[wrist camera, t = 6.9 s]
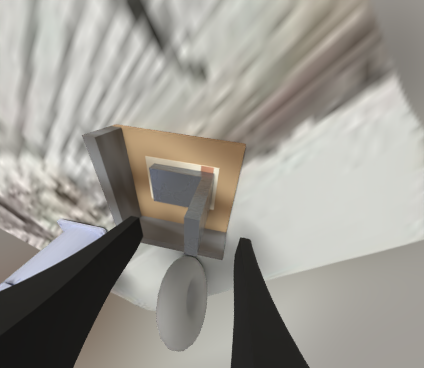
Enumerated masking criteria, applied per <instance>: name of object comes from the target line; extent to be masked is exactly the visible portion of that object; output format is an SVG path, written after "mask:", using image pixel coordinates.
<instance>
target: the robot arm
mask: <svg viewBox="0 0 424 368" xmlns="http://www.w3.org/2000/svg"><path fill="white" fill-rule="evenodd" d="M57 223H58V224H59V225H60V227H61V228H62V230H63V231H64V232H63V233H62V234H60V235H59V236H58V237H57V238H55V239H54V240H53V241H52V242H51V243H49V244H48V245H47V246H46V247H45V248H43V249H42V250H41V251H40V252H39V253H37V254H36V255H35V256H34V257H33V258H31V259H30V260H29V261H28V262H26V263H25V264H24V265H23V266H22V267H21V268H19V269H18V270H17V271H16V272H14V273H13V274H12V275H11V276H10V277H8V278H7V279H6V280H5V281H4V282H2V283H1V284H0V368H73V367H74V364H75V362H76V360H77V358H78V356H79V353H80V351H81V349H82V347H83V344H84V342H85V340H86V338H87V336H88V333H89V332H90V330H91V328H92V326H93V324H94V321H95V320H96V318H97V316H98V313H99V312H100V310H101V308H102V306H103V304H104V302H105V300H106V298H107V296H108V295H109V293H110V291H111V289H112V287H113V286H114V284H115V282H116V281H117V279H118V278H119V276H120V275H121V273H122V272H123V270H124V269H125V267H126V266H127V264H128V262H129V261H130V259H131V258H132V256H133V255H134V253H135V252H136V250H137V248H138V246H139V244H140V242H141V240H142V238H143V232H142V227H141V223H140V219H139V217H135V216H130V217H129V218H127V219H126V220H124V221H123V222H121V223H120V224H118V225H117V226H116V227H114V228H113V229H111V230H110V231H108V232H106V230H105V229H104V228H101V227H96V226H92V225H87V224H82V223H77V222H73V221H68V220H63V219H59V220H57ZM231 368H309V366H308V364H307V363H306V361H305V360H304V358H303V356H302V354H301V353H300V351H299V349H298V347H297V345H296V344H295V342H294V340H293V339H292V337H291V335H290V333H289V332H288V330H287V328H286V326H285V324H284V322H283V320H282V318H281V316H280V314H279V312H278V310H277V308H276V306H275V304H274V302H273V300H272V298H271V296H270V293H269V291H268V289H267V286H266V284H265V281H264V279H263V276H262V274H261V271H260V269H259V266H258V263H257V260H256V257H255V254H254V251H253V248H252V244H251V240H250V239H246V238H241V237H240V240H239V243H238V247H237V250H236V253H235V260H234V328H233V344H232V359H231Z"/></svg>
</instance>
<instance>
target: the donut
mask: <svg viewBox="0 0 424 368" xmlns="http://www.w3.org/2000/svg"><path fill="white" fill-rule="evenodd" d="M206 305H207V283H206V277H205V273H204V270H203V267H202V265H201V264H200V263H199V261H198V260H197V259H195V258H194V257H190V256H184V257H181V258H179V259H177V260H176V261H174V262H173V264H172V265H171V266H170V267H169V268H168V270H167V272H166V274H165V276H164V278H163V280H162V283H161V286H160V290H159V293H158V300H157V307H156V315H157V326H158V330H159V334H160V338H161V339H162V341H163V342H164V344H165V345H166V346H167V347H168V349H170V350H173V351H184V350H185V349H187V348H188V347H189V346H191V345H192V344H193V343H194V341H195V340H196V338H197V337H198V335H199V333H200V331H201V328H202V325H203V322H204V318H205V312H206Z"/></svg>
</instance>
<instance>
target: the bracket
mask: <svg viewBox="0 0 424 368" xmlns="http://www.w3.org/2000/svg"><path fill="white" fill-rule="evenodd" d="M149 171H150V178H151V185H152V191H153V198H154V201H157V202H162V203H167V204H172V205H177V206H183V207H188V209H187V212H186V214H185V216H184V254H187V255H192V256H196V257H197V255H198V251H199V247H200V243H201V240H202V236H203V232H204V229H205V225H206V221H207V217H208V214H209V210H210V206H211V199H212V191H213V183H214V175H215V174H214V173H209V172H203V171H197V170H191V169H185V168H179V167H173V166H168V165H162V164H156V163H154V164H153V165H152V166H151V167H149Z"/></svg>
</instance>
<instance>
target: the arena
mask: <svg viewBox="0 0 424 368" xmlns="http://www.w3.org/2000/svg"><path fill="white" fill-rule="evenodd" d="M82 137H83V139H84V142H85V144H86V147H87V150H88V152H89V155H90V158H91V160H92V163H93V166H94V168H95V171H96V174H97V176H98V179H99V182H100V184H101V187H102V190H103V192H104V195H105V198H106V200H107V203H108V206H109V208H110V211H111V213H112V216H113V219H114V221H115V224H116V226H117V225H118V224H120V223H121V222H123V221H124V220H126V219H127V218H129V217H130V216H135V217H139V219H140V223H141V227H142V232H143V238H142V240H141V243H145V244H150V245H155V246H159V247H164V248H169V249H173V250H178V251H182V252H184V216H185V214H186V212H187V209H188V207H183V206H177V205H172V204H167V203H162V202H157V201H154V198H153V191H152V185H151V178H150V171H149V167H151V166H152V165H153V164H154V163H156V164H162V165H168V166H173V167H179V168H185V169H191V170H197V171H203V172H209V173H214V174H215V175H214V183H213V191H212V199H211V206H210V210H209V214H208V217H207V221H206V225H205V229H204V232H203V236H202V240H201V243H200V247H199V251H198V255H201V256H206V257H210V258H215V259H219V260H222V259H223V255H224V246H225V237H226V230H227V226H228V222H229V217H230V213H231V208H232V204H233V200H234V195H235V191H236V186H237V182H238V178H239V173H240V169H241V164H242V160H243V156H244V151H245V147H246V144H243V143H236V142H230V141H223V140H216V139H210V138H203V137H196V136H190V135H183V134H176V133H169V132H163V131H156V130H149V129H143V128H136V127H129V126H123V125H112V126H109V127H106V128H103V129H100V130H97V131H94V132H91V133H88V134H84V135H82Z"/></svg>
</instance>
